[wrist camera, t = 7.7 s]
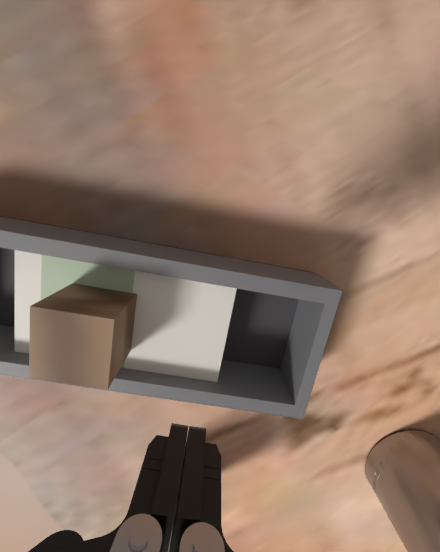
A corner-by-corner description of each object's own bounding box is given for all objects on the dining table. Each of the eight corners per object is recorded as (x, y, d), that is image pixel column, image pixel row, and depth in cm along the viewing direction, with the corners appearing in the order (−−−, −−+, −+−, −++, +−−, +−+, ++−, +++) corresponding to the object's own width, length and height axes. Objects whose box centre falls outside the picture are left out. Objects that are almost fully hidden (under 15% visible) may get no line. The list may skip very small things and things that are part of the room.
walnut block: (137, 293, 21) (114, 319, 16) (130, 350, 23) (107, 389, 18) (72, 283, 21) (29, 306, 16) (69, 341, 22) (29, 378, 17)
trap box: (315, 273, 25) (342, 290, 20) (286, 378, 28) (302, 418, 23) (-42, 208, 23) (-118, 209, 18) (-36, 328, 26) (-101, 360, 21)
